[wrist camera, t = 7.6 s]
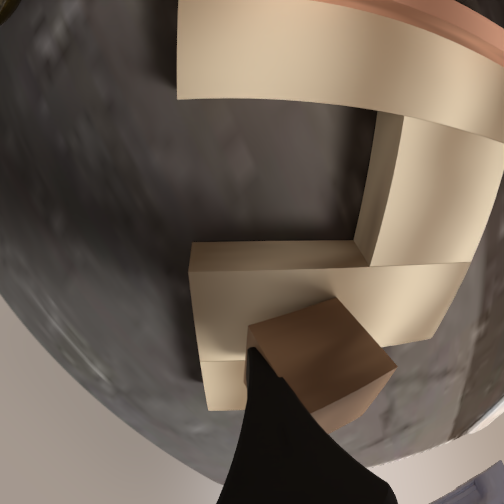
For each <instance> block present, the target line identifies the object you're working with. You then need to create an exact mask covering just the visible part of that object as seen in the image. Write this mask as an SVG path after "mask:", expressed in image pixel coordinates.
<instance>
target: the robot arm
mask: <svg viewBox="0 0 504 504" xmlns="http://www.w3.org/2000/svg"><path fill="white" fill-rule="evenodd" d="M246 382H247V403H246V408H245V414H244V419H243V424H242V428H241V433H240V437H239V440H238V444H237V448H236V451H235V454H234V458H233V461H232V464H231V467H230V470H229V473H228V475H227V478H226V481H225V483H224V486H223V489H222V491H221V494H220V496H219V499H218V501H217V503H216V504H398V502H397V499H396V496H395V494H394V492H393V490H392V489H391V487H390V485H389V484H388V483H387V482H385V481H384V480H382V479H381V478H379V477H378V476H376V475H375V474H373V473H372V472H371V471H369V470H368V469H367V468H365V467H364V466H363V465H361V464H360V463H359V462H357V461H356V460H355V459H354V458H353V457H352V456H350V455H349V454H348V453H347V452H346V451H345V450H344V449H343V448H341V447H340V446H339V445H338V444H337V443H336V442H335V441H334V440H333V439H332V438H331V437H330V436H329V435H328V434H327V433H326V432H325V431H324V429H323V428H322V427H321V426H320V425H319V424H318V423H317V422H316V420H315V419H314V418H313V417H312V415H311V414H310V413H309V412H308V410H307V409H306V408H305V406H304V405H303V404H302V402H301V401H300V400H299V398H298V397H297V395H296V394H295V392H294V391H293V390H292V388H291V387H290V386H289V385H288V383H287V382H286V381H285V379H284V378H283V377H278V376H277V374H276V373H275V372H274V370H273V369H272V367H271V366H270V365H269V363H268V362H267V361H266V360H265V358H264V357H263V356H262V354H261V353H260V352H259V351H258V350H257V349H256V347H250V348H249V349H247V366H246ZM429 504H504V465H503V463H502V461H501V460H500V461H498V462H497V463H495V464H494V465H493V466H491V467H489V468H488V469H487V470H485V471H484V472H482V473H480V474H478V475H476V476H475V477H473V478H471V479H470V480H468V481H467V482H465V483H464V484H462V485H460V486H458V487H457V488H456V489H455V490H453V491H452V492H450V493H448V494H446V495H444V496H443V497H441V498H439V499H437V500H435V501H433V502H431V503H429Z"/></svg>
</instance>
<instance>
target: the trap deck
mask: <svg viewBox="0 0 504 504" xmlns="http://www.w3.org/2000/svg"><path fill="white" fill-rule="evenodd" d="M204 98H256V99H279V100H295V101H307V102H318V103H327V104H336V105H344V106H351V107H358V108H365V109H371V110H377V118H376V125H375V132H374V139H373V145H372V151H371V157H370V163H369V168H368V174H367V179H366V184H365V189H364V194H363V199H362V204H361V209H360V213H359V218H358V223H357V227H356V231H355V236H354V240H314V241H235V242H192V247H191V255H190V262H189V270H188V274H189V283H190V292H191V300H192V308H193V316H194V323H195V330H196V337H197V344H198V351H199V358H200V364H201V371H202V377H203V383H204V389H205V394H206V400H207V406H208V411H220V410H245V408H246V403H247V388H246V386H245V384H244V382H243V381H244V368H245V355H246V343H247V330H248V325H251V324H255V323H258V322H261V321H265V320H268V319H271V318H275V317H278V316H281V315H284V314H287V313H291V312H294V311H297V310H300V309H303V308H306V307H309V306H312V305H315V304H318V303H321V302H324V301H327V300H330V299H333V298H336V297H337V298H338V299H339V300H340V302H341V303H342V304H343V305H344V306H345V307H346V308H347V309H348V310H349V312H350V313H351V314H352V315H353V316H354V317H355V318H356V319H357V321H358V322H359V323H360V324H361V325H362V326H363V327H364V328H365V330H366V331H367V332H368V333H369V334H370V335H371V336H372V338H373V339H374V340H375V341H376V342H377V343H378V344H379V346H380V347H386V346H392V345H398V344H404V343H409V342H415V341H420V340H425V339H430V338H432V336H433V335H434V333H435V331H436V330H437V328H438V326H439V324H440V323H441V321H442V319H443V317H444V316H445V314H446V312H447V310H448V308H449V306H450V304H451V303H452V301H453V299H454V297H455V295H456V293H457V291H458V289H459V287H460V285H461V283H462V281H463V279H464V277H465V274H466V272H467V270H468V268H469V266H470V264H471V261H472V258H473V256H474V254H475V251H476V249H477V247H478V244H479V242H480V239H481V237H482V234H483V232H484V229H485V226H486V224H487V221H488V218H489V215H490V213H491V210H492V207H493V204H494V201H495V198H496V195H497V192H498V188H499V185H500V182H501V178H502V175H503V171H504V29H503V28H501V27H500V26H498V25H497V24H495V23H493V22H492V21H490V20H489V19H487V18H485V17H484V16H482V15H480V14H479V13H477V12H475V11H473V10H472V9H470V8H468V7H466V6H464V5H462V4H460V3H459V2H457V1H455V0H178V27H177V100H180V99H204Z"/></svg>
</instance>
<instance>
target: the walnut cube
mask: <svg viewBox="0 0 504 504" xmlns="http://www.w3.org/2000/svg"><path fill="white" fill-rule="evenodd" d="M250 347H256V349H257V350H258V351H259V352H260V353H261V354H262V356H263V357H264V358H265V360H266V361H267V362H268V363H269V365H270V366H271V367H272V369H273V370H274V372H275V373H276V374H277V376H278V377H283V378H284V379H285V381H286V382H287V383H288V385H289V386H290V387H291V388H292V390H293V391H294V392H295V394H296V395H297V397H298V398H299V400H300V401H301V402H302V404H303V405H304V406H305V408H306V409H307V410H308V412H309V413H310V414H311V415H312V417H313V418H314V419H315V420H316V422H317V423H318V424H319V425H320V426H321V427H322V428H323V429H324V431H325V432H326V433H327V434H329V433H331V432H333V431H335V430H337V429H339V428H341V427H342V426H344V425H346V424H348V423H350V422H352V421H353V420H355V419H357V418H359V417H360V416H362V415H363V413H364V412H365V411H366V410H367V408H368V407H369V406H370V404H371V403H372V402H373V400H374V399H375V398H376V396H377V395H378V394H379V392H380V391H381V390H382V388H383V387H384V386H385V384H386V383H387V381H388V380H389V379H390V377H391V376H392V374H393V373H394V371H395V370H396V368H397V367H398V366H397V365H396V364H395V363H394V362H393V361H392V359H391V358H390V357H389V356H388V355H387V354H386V352H385V351H384V350H383V349H382V348H381V347H380V346H379V344H378V343H377V342H376V341H375V340H374V339H373V338H372V336H371V335H370V334H369V333H368V332H367V331H366V330H365V328H364V327H363V326H362V325H361V324H360V323H359V322H358V321H357V319H356V318H355V317H354V316H353V315H352V314H351V313H350V312H349V310H348V309H347V308H346V307H345V306H344V305H343V304H342V303H341V302H340V300H339V299H338V298H337V297H336V298H333V299H330V300H327V301H324V302H321V303H318V304H315V305H312V306H309V307H306V308H303V309H300V310H297V311H294V312H291V313H287V314H284V315H281V316H278V317H275V318H271V319H268V320H265V321H261V322H258V323H255V324H251V325H248V330H247V343H246V355H245V368H244V381H243V382H244V384H245V386H246V388H247V382H246V366H247V349H249V348H250Z"/></svg>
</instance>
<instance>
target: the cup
mask: <svg viewBox="0 0 504 504" xmlns="http://www.w3.org/2000/svg"><path fill="white" fill-rule="evenodd" d="M20 2H21V0H0V26H1V25H2V24H3V23H4V22H6V21H7V20H8V18H9V17H10V16H11V15H12V14H13V13H14V11H15V10H16V8H17V7H18V5H19V3H20Z"/></svg>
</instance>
